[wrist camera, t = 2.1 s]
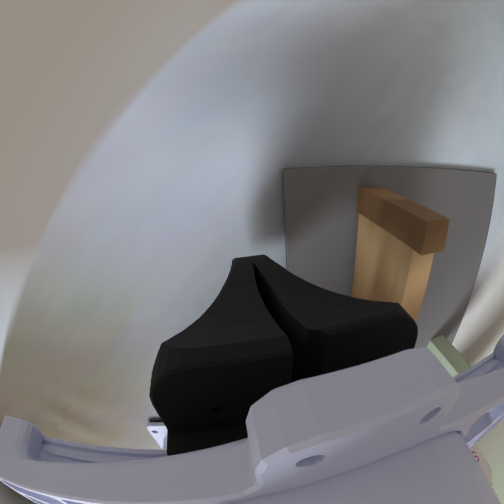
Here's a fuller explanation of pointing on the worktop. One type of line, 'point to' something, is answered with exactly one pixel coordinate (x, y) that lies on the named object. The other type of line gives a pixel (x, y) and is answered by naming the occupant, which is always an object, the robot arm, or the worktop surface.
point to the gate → (395, 248)
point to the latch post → (448, 355)
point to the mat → (346, 228)
